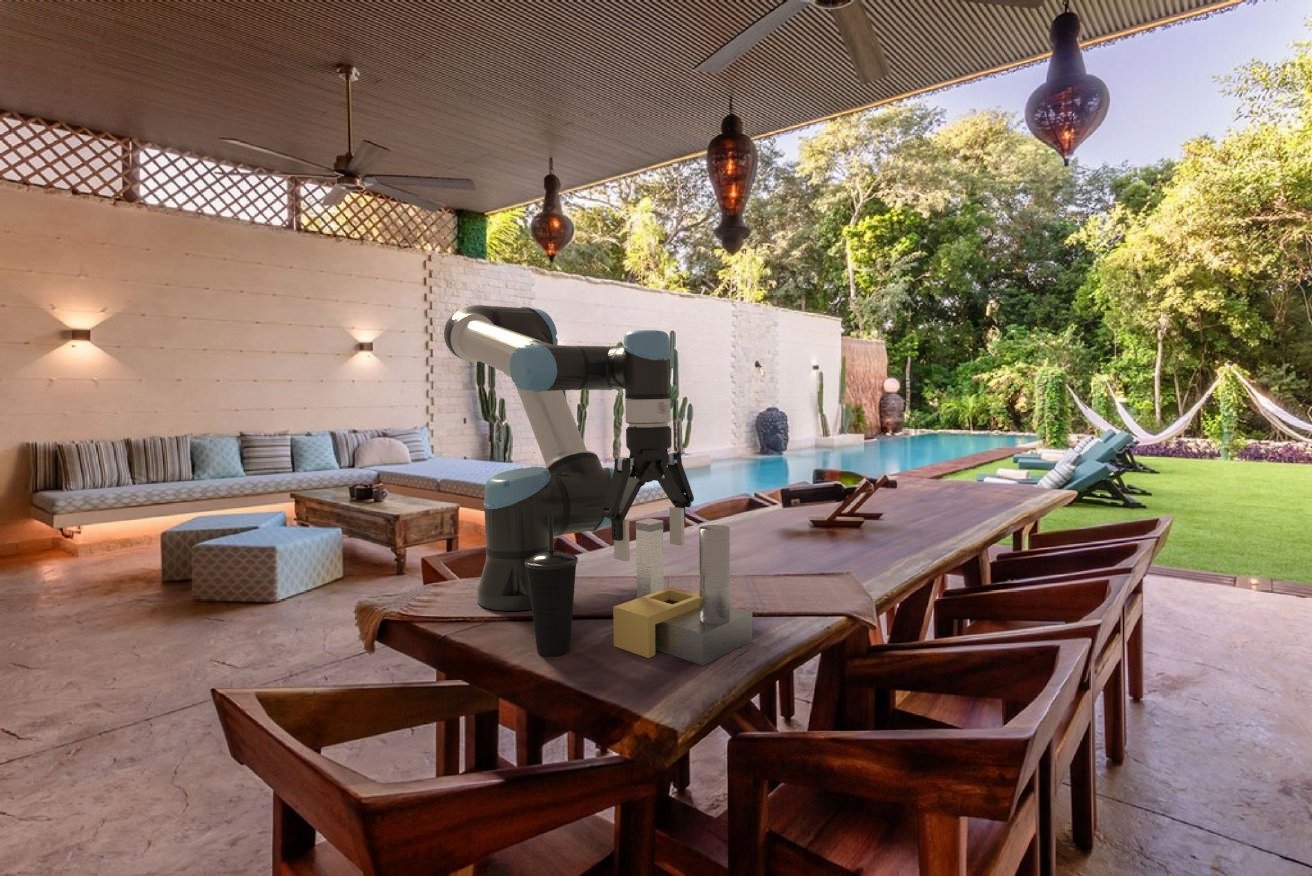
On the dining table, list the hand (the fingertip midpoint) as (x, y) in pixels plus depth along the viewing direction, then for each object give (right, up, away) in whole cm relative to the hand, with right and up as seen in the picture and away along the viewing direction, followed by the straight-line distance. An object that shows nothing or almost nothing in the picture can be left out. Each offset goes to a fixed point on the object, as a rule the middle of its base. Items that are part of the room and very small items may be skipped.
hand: (650, 552), depth 118 cm
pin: (0, -11, +1) cm, 11 cm away
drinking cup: (-14, -12, -14) cm, 24 cm away
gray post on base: (+5, -12, -11) cm, 17 cm away
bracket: (+2, -12, -10) cm, 16 cm away
